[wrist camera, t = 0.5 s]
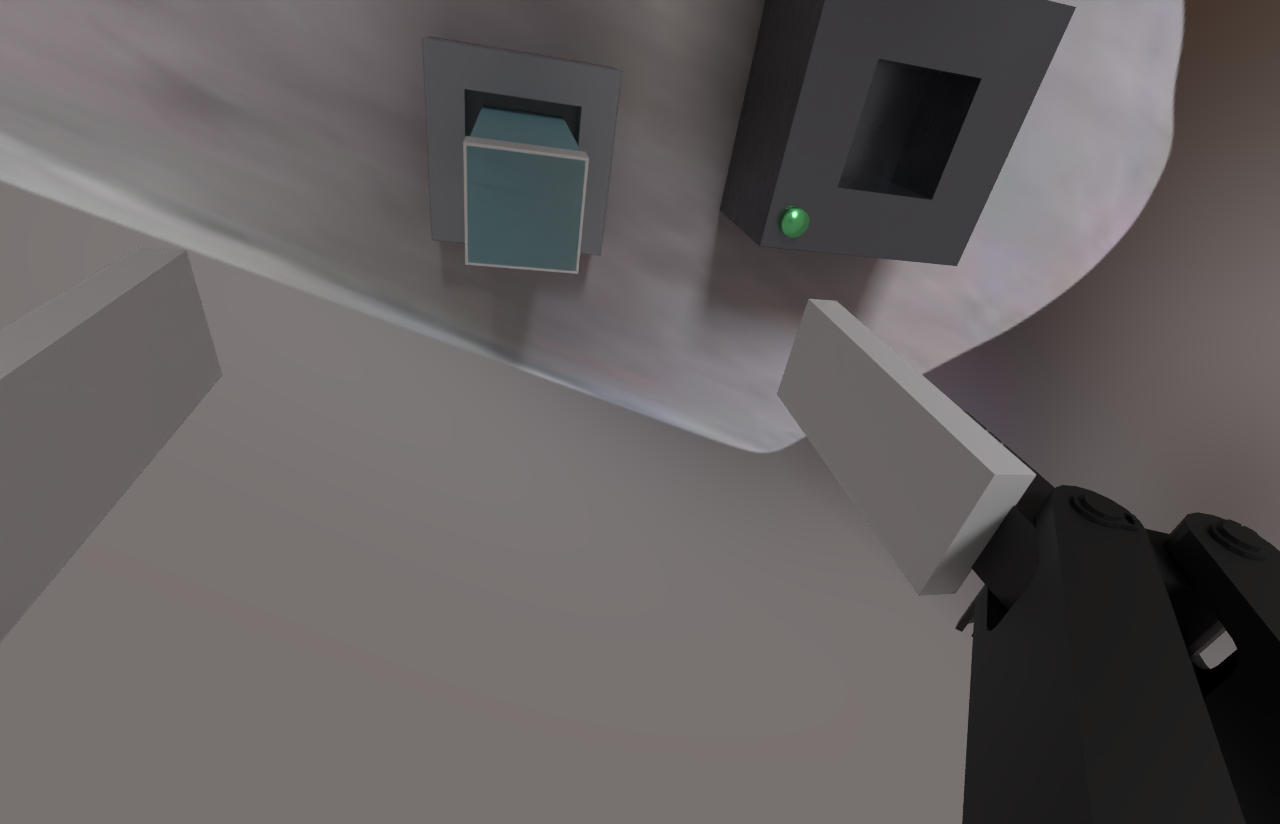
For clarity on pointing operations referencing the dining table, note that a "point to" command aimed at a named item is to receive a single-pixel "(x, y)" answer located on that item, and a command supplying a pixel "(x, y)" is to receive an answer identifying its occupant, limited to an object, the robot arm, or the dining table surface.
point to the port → (884, 121)
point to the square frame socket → (521, 83)
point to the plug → (523, 192)
